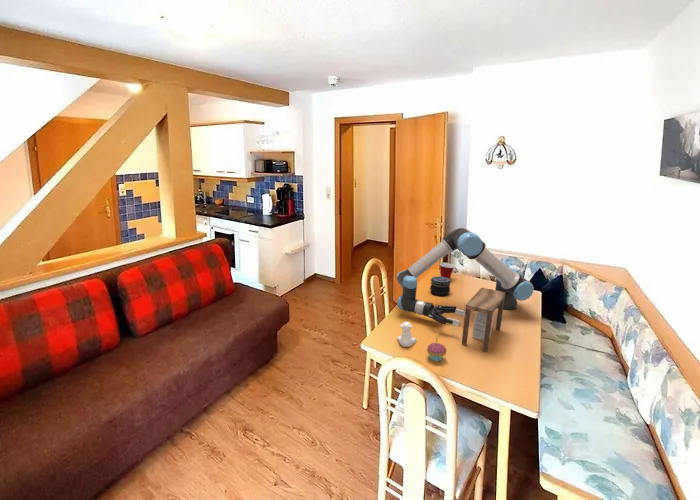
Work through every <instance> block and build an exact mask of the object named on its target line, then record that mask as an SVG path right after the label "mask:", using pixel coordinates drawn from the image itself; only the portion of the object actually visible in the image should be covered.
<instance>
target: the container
mask: <svg viewBox="0 0 700 500" xmlns="http://www.w3.org/2000/svg"><path fill="white" fill-rule="evenodd" d="M430 281H431V282H430V288H429V289H430V293H431V294H432V295H433V296H435V297H436V296H437V297H448V295H449V293H450V291H451V287H450V286H451V283H452V281H451V278H450V279H448V278H446V277H441V275H440V276H438V275H437V276H436V275H435V276H433V277H432V278H431V279H430Z"/></svg>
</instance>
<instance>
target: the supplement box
mask: <svg viewBox="0 0 700 500" xmlns="http://www.w3.org/2000/svg"><path fill="white" fill-rule="evenodd" d="M486 320H487V314H485V313H481V312H477V311H476V314H475V315H474V322H473V323H474V324H473V329H472V330H473V331H472V338H473V339H476V340H479V341H483V342H484V336H485V328H486ZM493 320H494V315H493V316H492V324H491V331H490V337H492V328H493V322H494V321H493Z"/></svg>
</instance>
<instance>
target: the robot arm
mask: <svg viewBox="0 0 700 500" xmlns="http://www.w3.org/2000/svg"><path fill="white" fill-rule="evenodd" d="M455 250H458V251H460V252H461V254H463V255H465V256H466V257H467V259H469V260H472V261H473V260H475V262H477V263H478V264H479V265H480V266H481V267H483V268H484V269H485V270H486V271H487V272H488V273H490V274H491V275H492V276H493V277H494V278H495V279H496V282H495V288H494V290H496V291H501V292H505V299H504V306H503V311H504V310H506V311H511V310H512V311H513V310H516V309H517V308H518V301H521V302H523V301H526V300H528V299H530V298H531V297H532V295H533V294H534V285H533V284H532V282H530V281H528V280H527V279H526V278H525V277H523V276H522V275H521V274H520V270H519V269H516V268H512V267H508V266H507V265H506V264H504V262H502V261H501V260H500V259H499V258H498V257H497V256H495V255H494V254H493V253H492V252H491V251H490V250H489V249H488V248H486V243H485V242H484V241H483V240H482V239H481V237H480V236H479V235H478V234H476V233H474V232H473V231H470V230H468V229H467V228H464V227H463V228H462V227H461V228H460V227H459V228H456V229H454V230H452V231H451V232H449V233H448V234H446V235H445V236H444V237H442V238H441V241H440V242H439V243H438V244H437V245H436V246H434V247H433V248H431V249H430V250H429V251H428V252H427V253H425V254H424V255H423V256H422V257H421V258H419V259H418V260H417V261H415V262H414V263H413V264H412V265H410V266H409V267H408V268H407V269H406V270H401V271H399V272H398V273H397V275H396V280H397V283H398V284H399V285H400V287H401V289H402V295H400V296H399V297H397V298H398V299H397V302H396V306H397V308H398V309H399V310H402V311H405V312H409V313H413V314H417V315H419V316H420V315H421V316H424V317H428V318H429V319H432V320H434V321H435V322H437V323H439V324H441V325H447V324H448V325H449V324H450V325H453V326H456V327H460V325H461V324H460V323H461V320H458V319H456V318H450V317H447V318H446V317H445V316H444V314H455V315H459V316H463V317H465V310H462V309H459V308H457V306H453V305H451V306H450V305H442V304H441V305H440V304H437V306H435V305H434V303H433V302H427V301H424V300H421V299H417V289H418V278H419V277H420V276H421V275H423V274H424V273H425V272H426V271H428V270H429V269H430V268H432V266H434V265H436V263H438V262H439V261H440V260H442V259H443V258H444V257H445V256H447V255H448V254H449V253H450V252H451V253H453V252H455ZM498 307H499V305H498ZM498 307H497V308H496V309H498Z"/></svg>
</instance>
